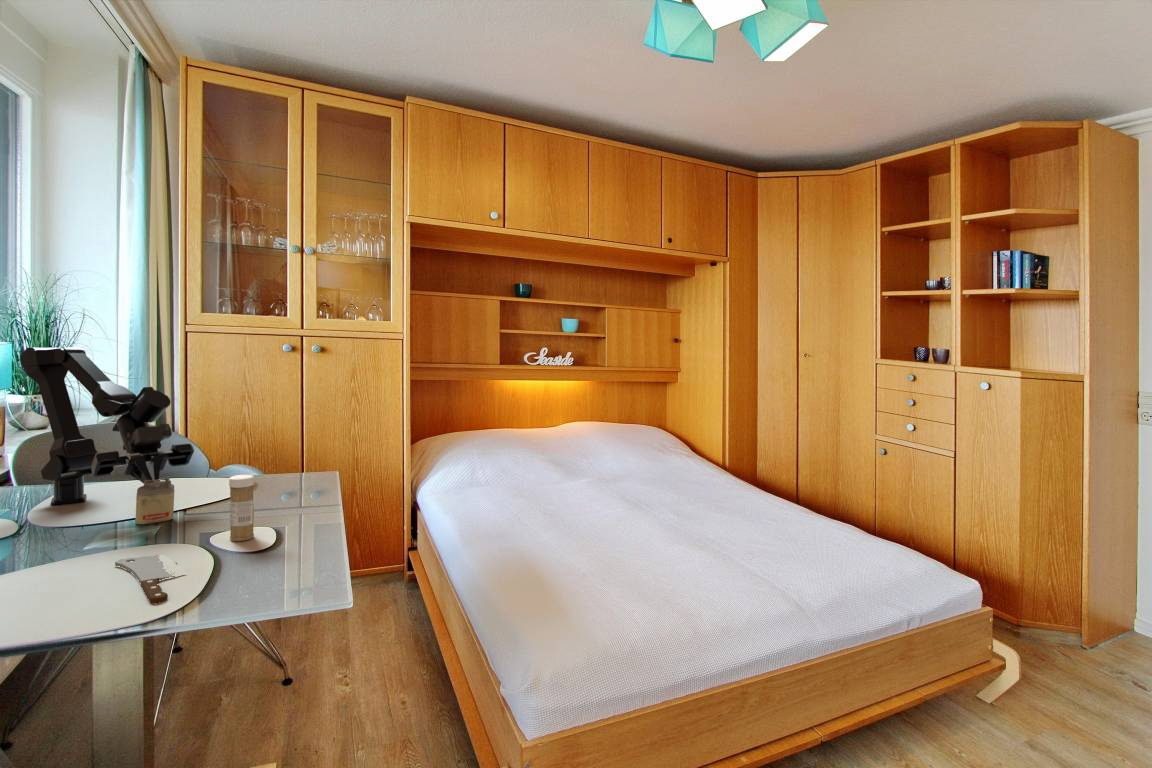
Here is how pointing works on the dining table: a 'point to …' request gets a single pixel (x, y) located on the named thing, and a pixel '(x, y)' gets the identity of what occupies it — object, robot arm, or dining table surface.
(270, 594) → the dining table surface
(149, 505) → the beige handled case
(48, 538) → the dining table surface
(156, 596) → the kitchen cleaver
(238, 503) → the sprinkles bottle
